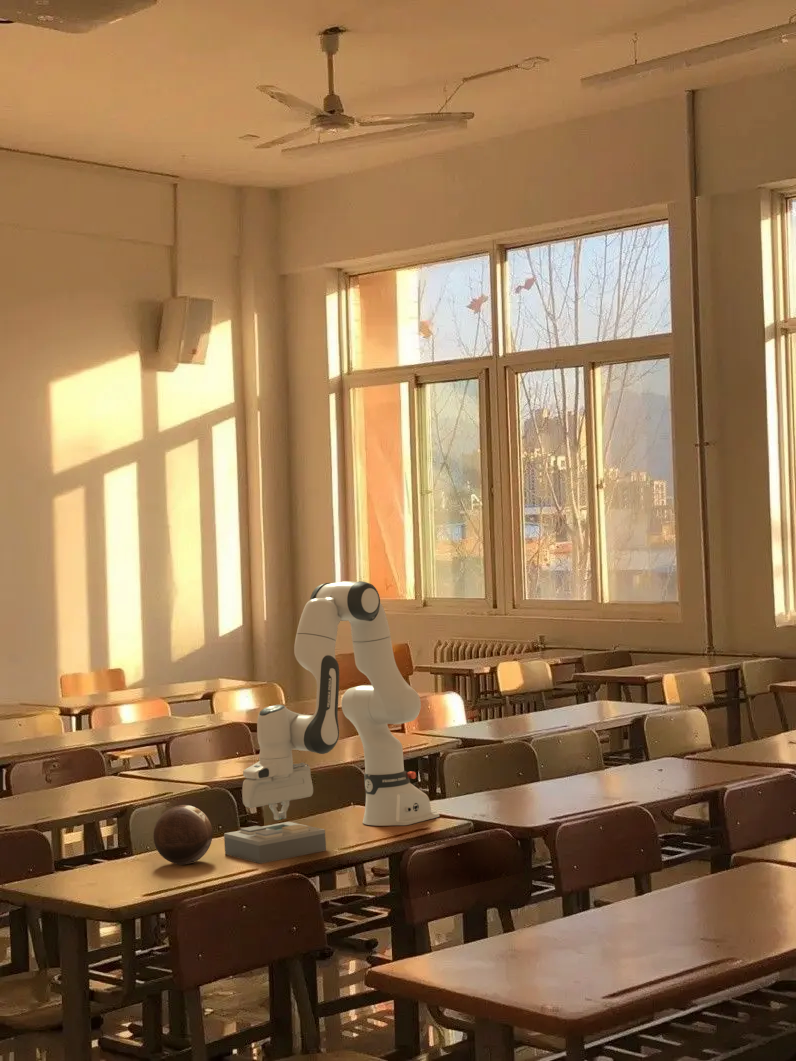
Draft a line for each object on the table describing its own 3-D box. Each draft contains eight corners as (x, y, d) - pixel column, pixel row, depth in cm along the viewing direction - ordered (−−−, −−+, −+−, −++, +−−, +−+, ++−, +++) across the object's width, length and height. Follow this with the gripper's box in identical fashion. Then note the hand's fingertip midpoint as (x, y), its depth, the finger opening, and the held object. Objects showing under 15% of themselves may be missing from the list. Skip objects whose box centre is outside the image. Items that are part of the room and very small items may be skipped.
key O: (257, 836, 397) (256, 825, 397) (266, 839, 393) (266, 827, 393) (240, 840, 394) (240, 828, 394) (250, 842, 390) (249, 830, 390)
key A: (272, 840, 391) (272, 829, 391) (282, 843, 387) (282, 831, 387) (256, 843, 388) (255, 832, 388) (266, 846, 384) (265, 834, 384)
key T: (298, 835, 395) (298, 824, 395) (308, 838, 391) (308, 826, 391) (282, 838, 392) (281, 827, 392) (292, 841, 388) (292, 829, 388)
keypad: (289, 841, 406) (288, 821, 406) (326, 850, 391) (324, 829, 391) (225, 854, 394) (224, 833, 394) (260, 863, 380) (258, 841, 380)
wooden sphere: (210, 868, 377) (206, 808, 378) (150, 871, 377) (147, 812, 377) (217, 856, 392) (213, 798, 393) (160, 859, 392) (156, 802, 392)
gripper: (303, 760, 407) (306, 810, 407) (237, 771, 395) (241, 824, 396) (315, 762, 402) (319, 813, 402) (249, 774, 390) (253, 827, 390)
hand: (280, 818), depth 399 cm, fingers closed
